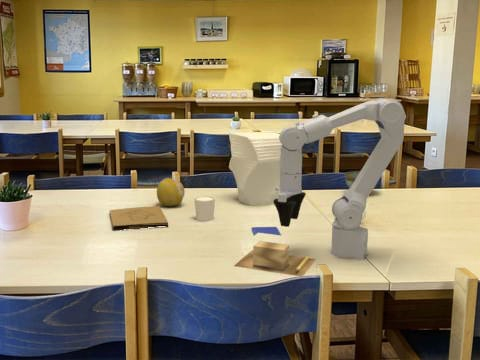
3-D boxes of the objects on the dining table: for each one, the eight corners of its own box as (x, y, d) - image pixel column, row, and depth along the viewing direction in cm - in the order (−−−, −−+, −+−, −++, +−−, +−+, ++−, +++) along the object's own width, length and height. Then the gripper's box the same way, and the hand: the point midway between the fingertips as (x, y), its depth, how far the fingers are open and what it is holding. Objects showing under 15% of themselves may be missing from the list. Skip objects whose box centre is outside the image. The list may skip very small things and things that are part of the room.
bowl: (352, 188, 231) (353, 169, 230) (382, 192, 224) (384, 173, 222) (338, 194, 220) (338, 175, 219) (369, 199, 213) (370, 179, 211)
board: (315, 263, 144) (316, 259, 144) (302, 281, 132) (302, 276, 132) (251, 254, 151) (252, 250, 151) (233, 270, 139) (233, 265, 139)
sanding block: (288, 265, 139) (289, 244, 138) (283, 271, 135) (284, 250, 134) (259, 261, 142) (259, 240, 141) (253, 266, 138) (253, 246, 137)
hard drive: (283, 238, 161) (277, 226, 173) (256, 239, 161) (251, 226, 173) (283, 243, 162) (277, 231, 174) (256, 244, 161) (251, 231, 173)
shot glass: (219, 218, 185) (219, 198, 183) (204, 223, 180) (204, 202, 178) (205, 214, 189) (205, 195, 188) (190, 218, 185) (190, 198, 183)
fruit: (167, 210, 194) (167, 183, 192) (151, 204, 202) (150, 178, 200) (191, 206, 201) (190, 179, 199) (174, 200, 209) (173, 174, 207)
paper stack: (224, 197, 215) (224, 131, 209) (288, 192, 223) (290, 129, 217) (240, 210, 195) (241, 139, 190) (310, 205, 203) (312, 136, 198)
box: (109, 214, 191) (109, 208, 190) (159, 211, 195) (159, 205, 195) (112, 232, 171) (112, 225, 170) (168, 228, 175) (168, 221, 175)
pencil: (306, 258, 144) (307, 255, 144) (309, 258, 144) (309, 256, 144) (294, 273, 134) (294, 270, 134) (297, 273, 134) (297, 270, 134)
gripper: (284, 166, 152) (283, 213, 154) (267, 176, 138) (266, 227, 141) (309, 168, 149) (307, 216, 152) (294, 178, 136) (292, 231, 139)
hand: (289, 222), depth 146 cm, fingers open, 7 cm apart
